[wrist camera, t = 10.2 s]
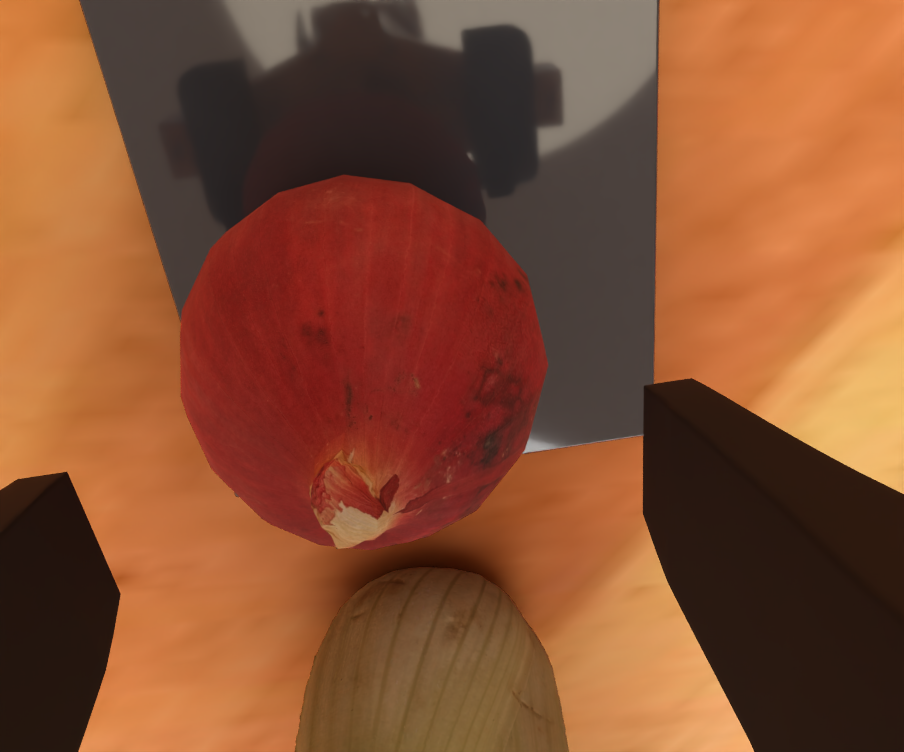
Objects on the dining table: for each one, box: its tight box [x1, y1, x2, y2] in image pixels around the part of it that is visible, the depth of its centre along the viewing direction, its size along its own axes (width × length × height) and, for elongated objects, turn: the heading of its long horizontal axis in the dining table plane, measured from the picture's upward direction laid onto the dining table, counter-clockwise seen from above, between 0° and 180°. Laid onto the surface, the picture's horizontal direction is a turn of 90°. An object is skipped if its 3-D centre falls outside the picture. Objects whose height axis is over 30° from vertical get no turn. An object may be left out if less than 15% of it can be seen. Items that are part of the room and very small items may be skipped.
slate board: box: [79, 0, 660, 497], centre depth 14 cm, size 20×10×1 cm, turn 7°
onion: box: [180, 175, 548, 550], centre depth 13 cm, size 6×6×8 cm
